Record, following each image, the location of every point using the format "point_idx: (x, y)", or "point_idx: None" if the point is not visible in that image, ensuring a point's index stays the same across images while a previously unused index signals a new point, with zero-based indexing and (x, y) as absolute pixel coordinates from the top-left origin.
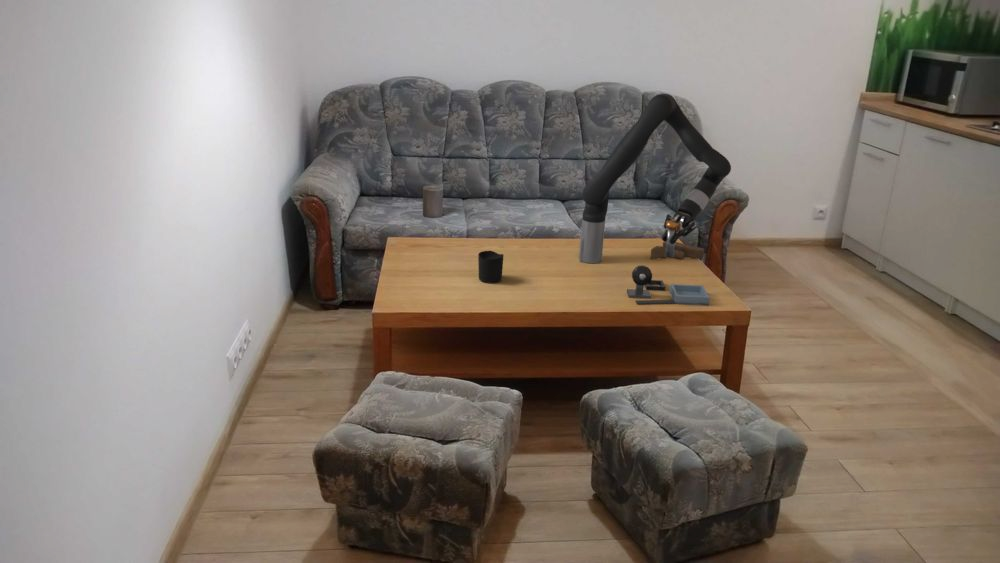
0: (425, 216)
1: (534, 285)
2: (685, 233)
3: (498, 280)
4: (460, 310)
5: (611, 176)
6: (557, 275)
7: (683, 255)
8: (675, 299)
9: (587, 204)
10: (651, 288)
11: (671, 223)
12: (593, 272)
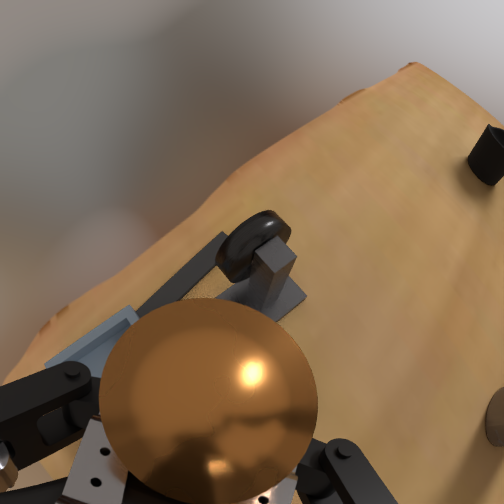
0: None
1: (443, 187)
2: (65, 424)
3: (470, 163)
4: (393, 79)
5: None
6: (472, 263)
7: None
8: (133, 309)
9: None
10: None
11: (180, 307)
12: (455, 352)
